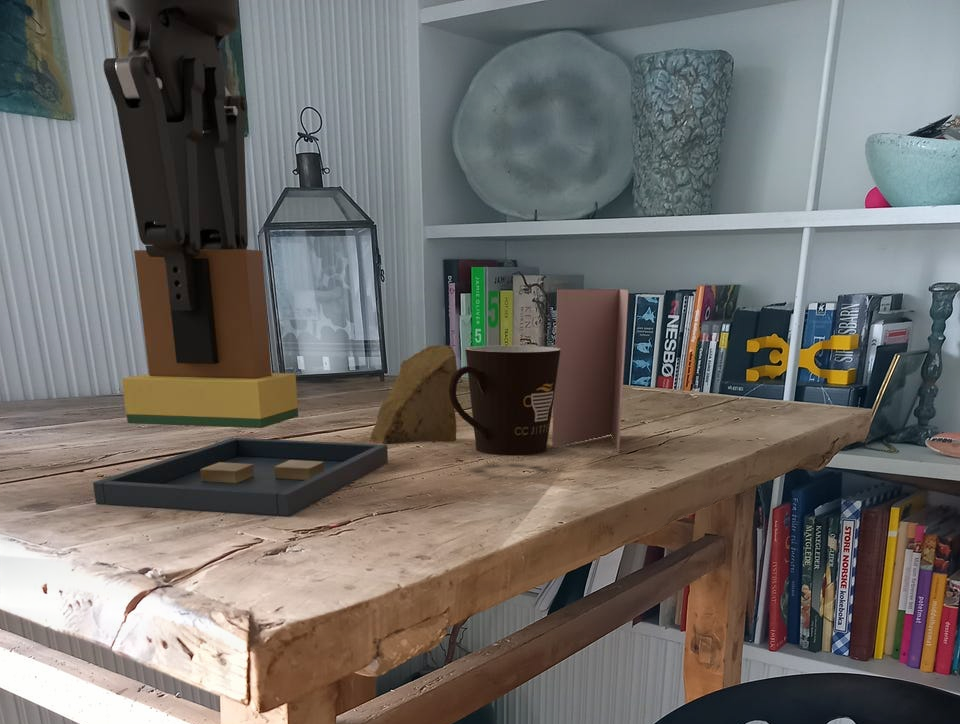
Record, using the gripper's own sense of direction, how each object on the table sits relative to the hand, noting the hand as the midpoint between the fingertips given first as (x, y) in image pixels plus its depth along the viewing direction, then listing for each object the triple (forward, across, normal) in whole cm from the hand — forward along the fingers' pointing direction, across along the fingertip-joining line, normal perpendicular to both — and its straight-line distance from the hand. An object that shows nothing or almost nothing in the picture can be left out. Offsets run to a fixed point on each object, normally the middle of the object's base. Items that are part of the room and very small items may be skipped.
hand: (209, 360), depth 64 cm
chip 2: (+10, -8, +2) cm, 13 cm away
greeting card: (+11, -37, +24) cm, 45 cm away
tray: (+11, -6, 0) cm, 12 cm away
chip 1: (+10, -6, -3) cm, 12 cm away
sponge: (+4, 0, 0) cm, 4 cm away
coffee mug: (+11, -25, +15) cm, 31 cm away
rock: (+11, -31, +5) cm, 33 cm away
